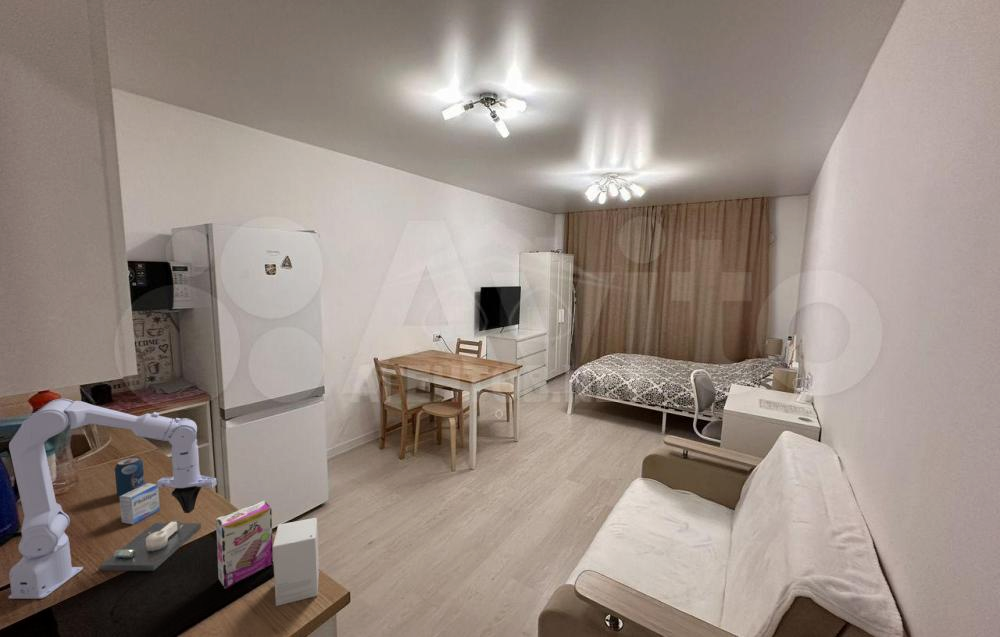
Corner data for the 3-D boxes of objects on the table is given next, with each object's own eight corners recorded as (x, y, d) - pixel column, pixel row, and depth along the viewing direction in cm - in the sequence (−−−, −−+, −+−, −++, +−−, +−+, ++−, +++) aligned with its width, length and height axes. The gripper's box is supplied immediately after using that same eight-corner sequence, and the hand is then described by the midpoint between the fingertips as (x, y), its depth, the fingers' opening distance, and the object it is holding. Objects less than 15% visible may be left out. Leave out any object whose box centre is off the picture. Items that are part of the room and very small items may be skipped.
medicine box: (133, 525, 120) (130, 497, 119) (121, 523, 121) (118, 495, 120) (160, 510, 128) (158, 484, 127) (148, 508, 129) (146, 482, 128)
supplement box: (319, 570, 104) (318, 516, 103) (317, 596, 96) (316, 538, 94) (280, 579, 101) (277, 523, 99) (274, 607, 93) (271, 546, 91)
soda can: (139, 497, 134) (137, 463, 132) (113, 501, 131) (109, 466, 130) (148, 487, 140) (146, 454, 139) (123, 490, 138) (120, 457, 136)
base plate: (153, 570, 103) (152, 558, 102) (100, 570, 102) (99, 558, 102) (200, 528, 120) (200, 517, 119) (155, 527, 119) (154, 517, 119)
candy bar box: (225, 590, 97) (221, 527, 95) (218, 580, 100) (214, 518, 98) (274, 565, 106) (272, 506, 104) (266, 556, 109) (264, 499, 107)
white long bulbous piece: (159, 551, 107) (158, 541, 107) (142, 551, 107) (141, 541, 107) (184, 529, 116) (184, 519, 116) (169, 529, 116) (168, 519, 116)
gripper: (222, 457, 115) (225, 502, 117) (169, 457, 115) (173, 502, 116) (205, 470, 108) (208, 517, 110) (149, 469, 108) (153, 517, 109)
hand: (189, 510), depth 113 cm, fingers closed
